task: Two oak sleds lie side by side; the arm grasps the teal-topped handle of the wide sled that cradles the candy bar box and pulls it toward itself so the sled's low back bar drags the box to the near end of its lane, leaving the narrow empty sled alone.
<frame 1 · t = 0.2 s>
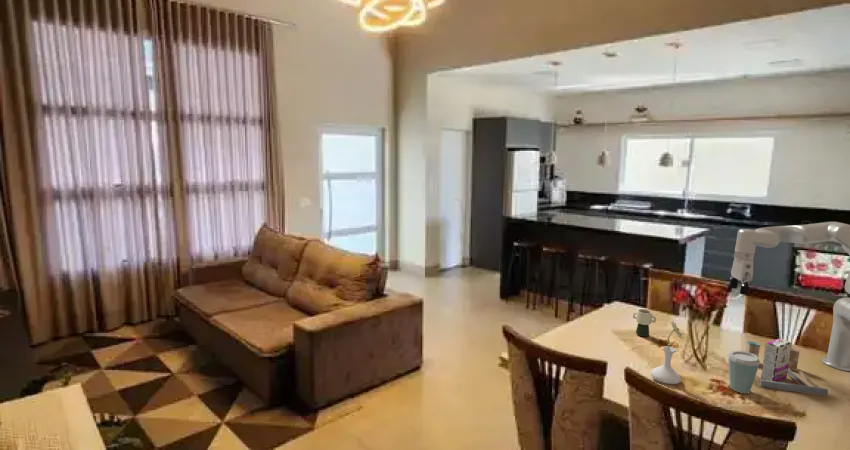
hand: (738, 291, 215), 30 cm above the table, tool pointing down, fingers open, 9 cm apart
disposable coffee cup: (738, 390, 184), on the table
sled B: (802, 368, 195), point 5 cm above the table, slide at 0.0 cm
candy bar box: (773, 378, 195), resting in sled A
sled A: (770, 363, 198), point 5 cm above the table, slide at 0.0 cm
lane rails: (779, 376, 197), on the table
flower in vase: (665, 379, 191), on the table
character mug: (642, 335, 238), on the table
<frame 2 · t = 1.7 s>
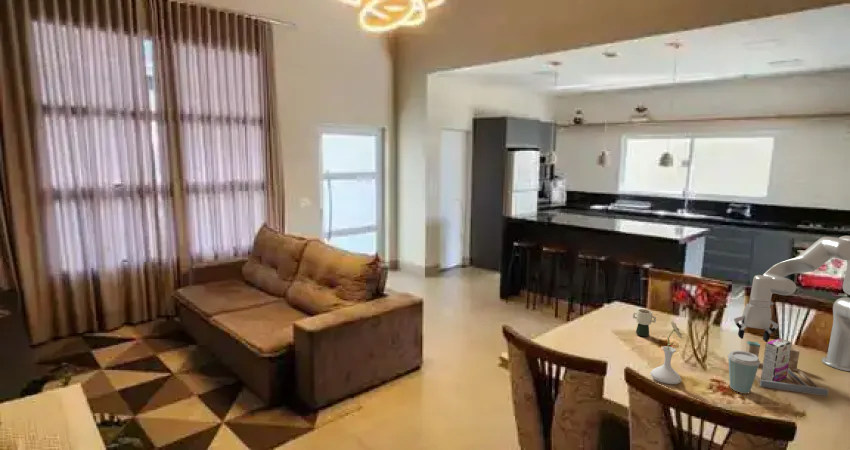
hand: (752, 339, 207), 12 cm above the table, tool pointing down, fingers open, 9 cm apart
nothing on the table moved.
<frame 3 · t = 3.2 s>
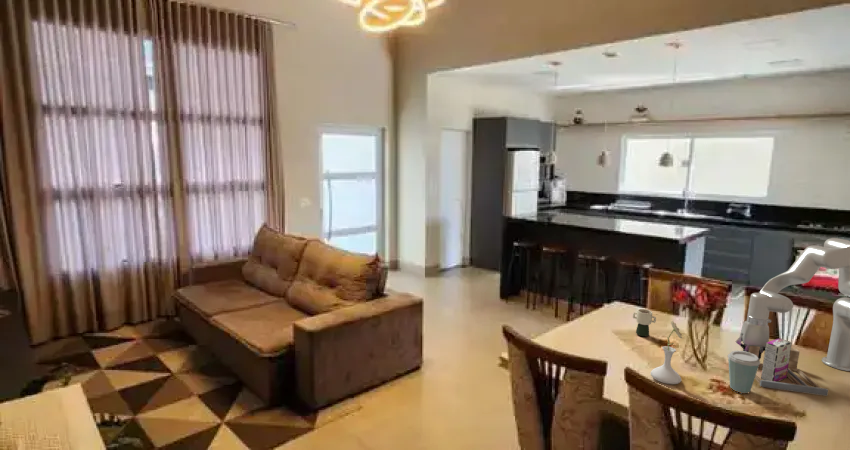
hand: (751, 358, 208), 2 cm above the table, tool pointing down, fingers closed on sled A, 4 cm apart
sled A: (770, 363, 198), point 5 cm above the table, slide at 0.0 cm, touching gripper
everything else where it was.
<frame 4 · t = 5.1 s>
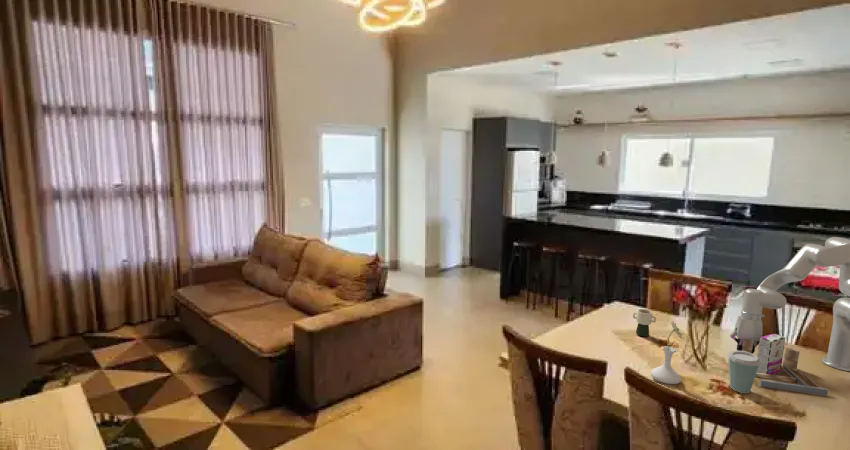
hand: (745, 352, 215), 2 cm above the table, tool pointing down, fingers closed on sled A, 4 cm apart
candy bar box: (767, 372, 200), resting in sled A
sled A: (763, 357, 204), point 5 cm above the table, slide at 6.7 cm, touching candy bar box, gripper
everything else where it was.
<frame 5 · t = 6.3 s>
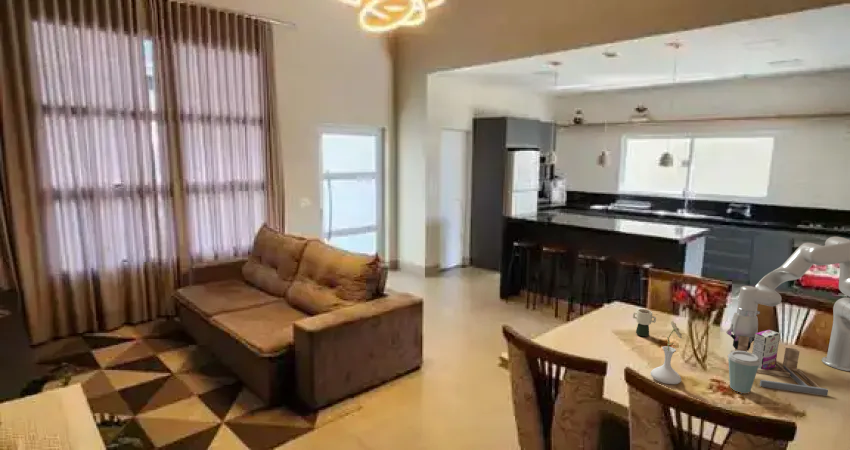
hand: (741, 348, 219), 2 cm above the table, tool pointing down, fingers closed on sled A, 4 cm apart
candy bar box: (762, 368, 205), resting in sled A
sled A: (759, 352, 209), point 5 cm above the table, slide at 11.4 cm, touching gripper
everything else where it was.
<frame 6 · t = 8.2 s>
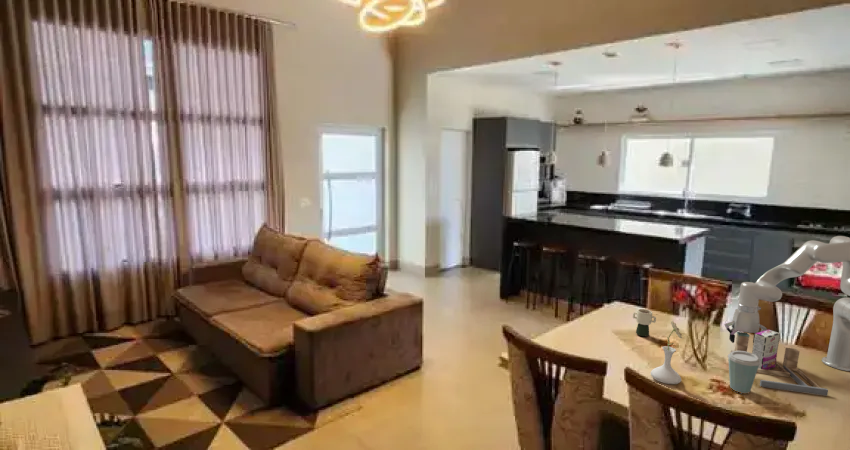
hand: (743, 342, 219), 5 cm above the table, tool pointing down, fingers open, 9 cm apart
sled A: (759, 352, 209), point 5 cm above the table, slide at 11.5 cm
everything else where it was.
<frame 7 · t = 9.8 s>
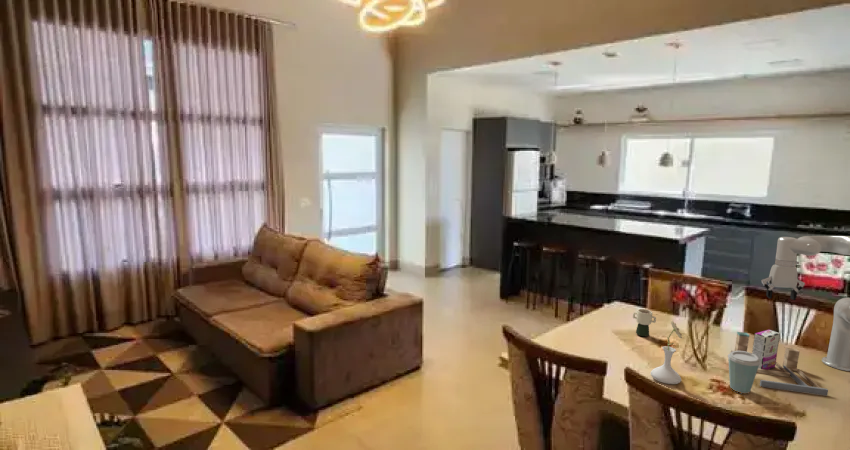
hand: (780, 298, 217), 27 cm above the table, tool pointing down, fingers open, 9 cm apart
nothing on the table moved.
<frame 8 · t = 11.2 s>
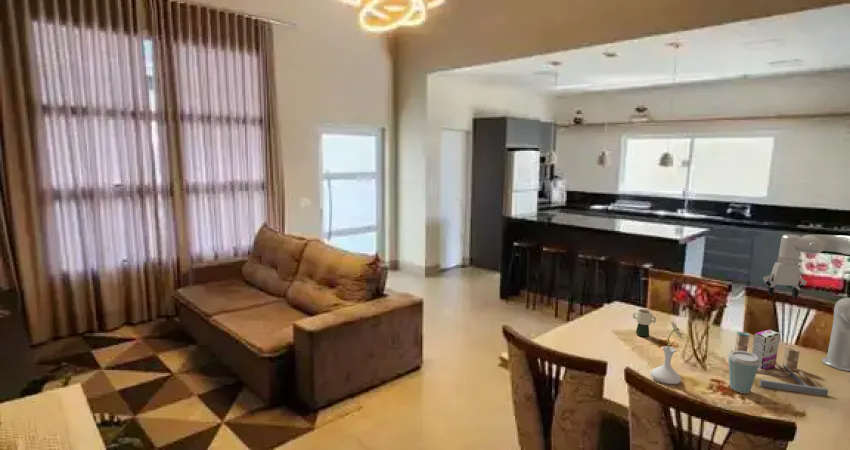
hand: (782, 296, 217), 28 cm above the table, tool pointing down, fingers open, 9 cm apart
nothing on the table moved.
at the end: candy bar box inside the target area (0.4 cm from its centre), resting in sled A; sled A slide at 11.5 cm; candy bar box tilted 0° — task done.
